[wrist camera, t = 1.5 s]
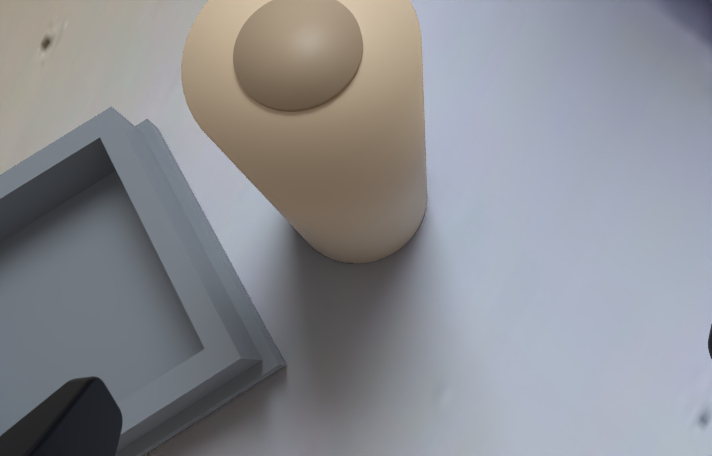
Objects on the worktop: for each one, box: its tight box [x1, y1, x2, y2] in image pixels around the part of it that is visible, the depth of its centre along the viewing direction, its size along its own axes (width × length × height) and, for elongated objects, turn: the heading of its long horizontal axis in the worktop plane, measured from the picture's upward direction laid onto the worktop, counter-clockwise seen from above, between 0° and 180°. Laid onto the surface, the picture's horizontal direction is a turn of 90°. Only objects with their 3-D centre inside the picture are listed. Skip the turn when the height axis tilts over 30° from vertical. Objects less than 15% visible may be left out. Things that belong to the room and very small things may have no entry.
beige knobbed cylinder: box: [181, 0, 427, 263], centre depth 18 cm, size 6×6×11 cm
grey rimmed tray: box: [0, 107, 286, 456], centre depth 22 cm, size 13×13×4 cm
